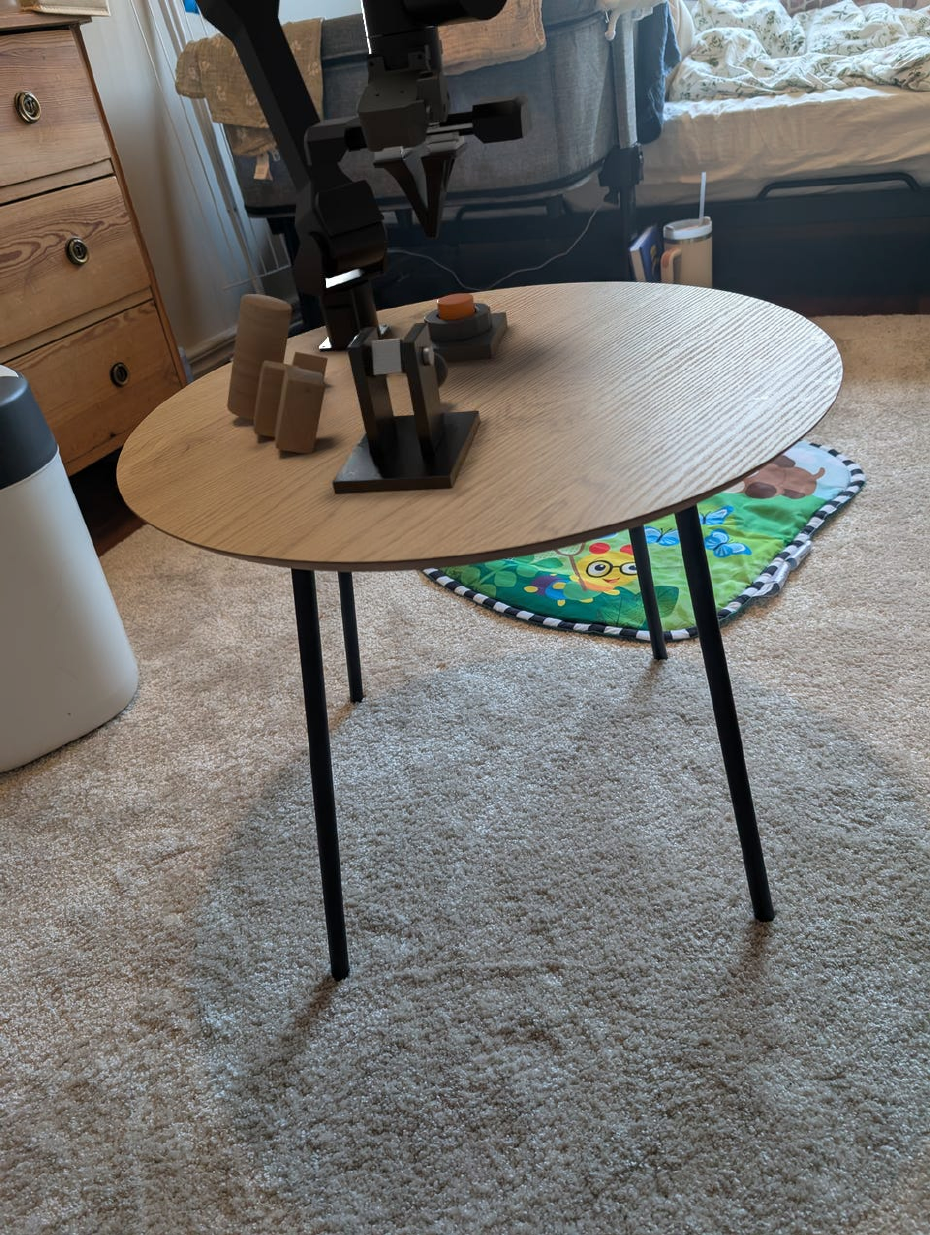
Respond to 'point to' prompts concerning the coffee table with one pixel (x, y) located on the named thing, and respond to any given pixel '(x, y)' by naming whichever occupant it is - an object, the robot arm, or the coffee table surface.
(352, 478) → the bracket
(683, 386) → the coffee table surface
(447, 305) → the button
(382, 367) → the lever
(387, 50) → the robot arm
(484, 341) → the switch block
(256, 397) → the wooden block set
